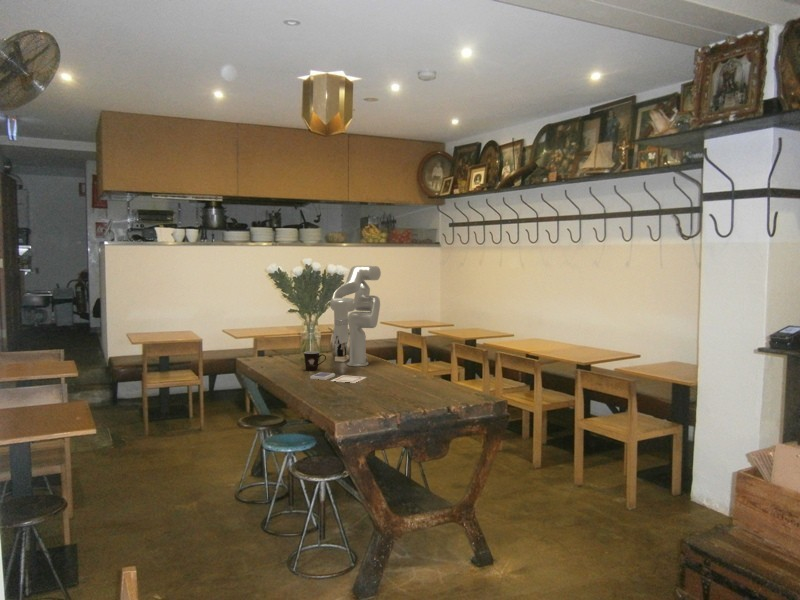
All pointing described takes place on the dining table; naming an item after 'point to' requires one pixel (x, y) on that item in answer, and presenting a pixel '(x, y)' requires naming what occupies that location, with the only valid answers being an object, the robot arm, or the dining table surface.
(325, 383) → the dining table surface
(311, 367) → the coffee mug
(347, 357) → the stamp
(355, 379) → the paper sheet
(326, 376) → the ink pad
